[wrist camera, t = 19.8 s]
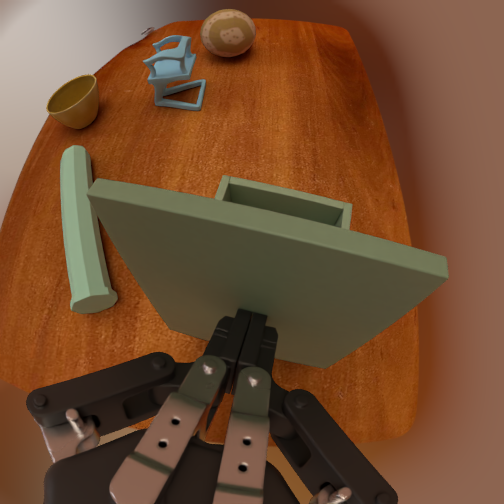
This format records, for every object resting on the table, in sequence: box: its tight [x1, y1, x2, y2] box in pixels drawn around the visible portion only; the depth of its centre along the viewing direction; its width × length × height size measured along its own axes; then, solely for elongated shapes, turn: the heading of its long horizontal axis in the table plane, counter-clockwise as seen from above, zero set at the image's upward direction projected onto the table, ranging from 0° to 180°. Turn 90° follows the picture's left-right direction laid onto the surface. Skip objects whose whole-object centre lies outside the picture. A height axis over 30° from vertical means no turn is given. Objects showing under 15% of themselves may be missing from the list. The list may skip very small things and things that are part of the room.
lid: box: [86, 178, 449, 369], centre depth 15 cm, size 16×13×1 cm
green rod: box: [60, 145, 118, 314], centre depth 34 cm, size 6×6×25 cm
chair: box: [143, 35, 206, 111], centre depth 38 cm, size 8×8×12 cm
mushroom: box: [200, 9, 256, 57], centre depth 46 cm, size 10×11×15 cm
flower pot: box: [46, 74, 99, 129], centre depth 40 cm, size 10×10×7 cm
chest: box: [214, 175, 352, 230], centre depth 29 cm, size 15×13×9 cm
